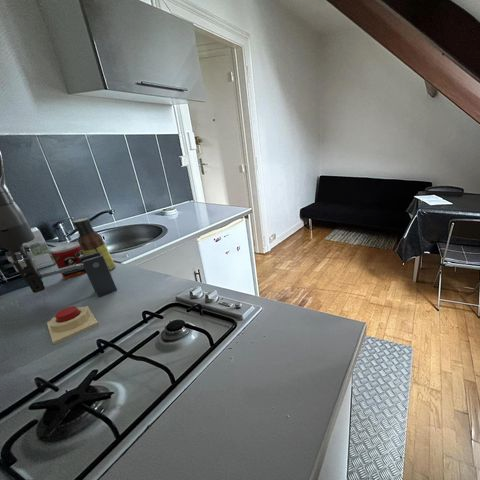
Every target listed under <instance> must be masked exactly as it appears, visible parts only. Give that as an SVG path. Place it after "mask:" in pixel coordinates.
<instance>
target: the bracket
mask: <svg viewBox="0 0 480 480" xmlns="http://www.w3.org/2000/svg"><path fill="white" fill-rule="evenodd" d="M95 256H97V257H95ZM91 257H94V258H91ZM79 258H80V260H81V262H82V263H83V264H84V266H85V267H84V269H85V271H86V276H87V278H88V279H89V282H90V284H91V286H92V288H93V290H94V292H95V293H96V294H97V297H98V298H101V297H104V296H106V295H109V294H112V293H114V292H116V291H118V288H117V286H116V284H115V281H114V279H113V277H112V274H111V271H109V269H108V267H107V265H106V262H105V260H104V258H103V256H102V255H100V253H99V252H96V253H93V254H89V255H86V256H82V257H79ZM87 258H91V259H87ZM85 259H87V260H85Z"/></svg>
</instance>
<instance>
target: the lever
mask: <svg viewBox="0 0 480 480" xmlns="http://www.w3.org/2000/svg"><path fill="white" fill-rule="evenodd" d="M95 257H97V256H95ZM91 258H94V257H91ZM91 258H87V259H91ZM87 259H85V260H87ZM82 267H85V266H84V264H83V263H80V264H76V265H72V266H68V267H64V268H60V269H59V268H56V269H52V270H48V271H44V272H41V273H40V272H38V271H37V273H39V278H40V279H42V280H43V279H44V278H48V277H52V276H56V275H60V274H61V273H63V272H67V271H71V270H75V269H79V268H82ZM30 273H33V272H28V273H26V274H25V275H27V274H30ZM22 281H23V283H25V284H27V285H28V283H27V281H24V279H22Z"/></svg>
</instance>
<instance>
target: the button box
mask: <svg viewBox="0 0 480 480" xmlns="http://www.w3.org/2000/svg"><path fill="white" fill-rule="evenodd" d="M77 308H78V310H79V312H80V314H79V315H78V316H77V317H75V318H74V319H71V320H69V321H66V322H62V323H59V322H58V321H57V319H56V317H55V316H53V317H52V318H51V319H50V320H48V321H46V324H47V325H46V326H47V329H48V331H49V336H50V338H51V342H52V344H53V345H58V344H59V343H61V342H64V341H66V340H68V339H70V338H72V337H75V336H77V335H80V334H82V333H83V332H86V331H88V330H90V329H92V328H95V327H97V326H99V325H100V324H99V321H98V320H97V319H96V317H95V316H94V313H93V312H92V310H91V308H90V307H89V306H88V305H86V306H84V307H83V306H78V307H77Z"/></svg>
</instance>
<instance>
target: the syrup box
mask: <svg viewBox="0 0 480 480" xmlns="http://www.w3.org/2000/svg"><path fill="white" fill-rule="evenodd" d="M30 228H31V230H32V232H33V234H34V236H35V238H34V239H33V240H32V241H30V242H27V243H23V246H25V247H29V248H30V250H31V252H32V254H33V255H32V256H33V258H34V260H35V262H36V265H37V267H36V268H37V269H38V270H41V269H44V268H48V267H51V266H54V265H57V264H56V262H55V261H54V259H53V257H52V255H51V253H50V248H49V247H48V244H47V243H46V240H45V238H44V236H43V234H42V232H41V230H40V229H39V228H37V227H36V226H35V227H30Z"/></svg>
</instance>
